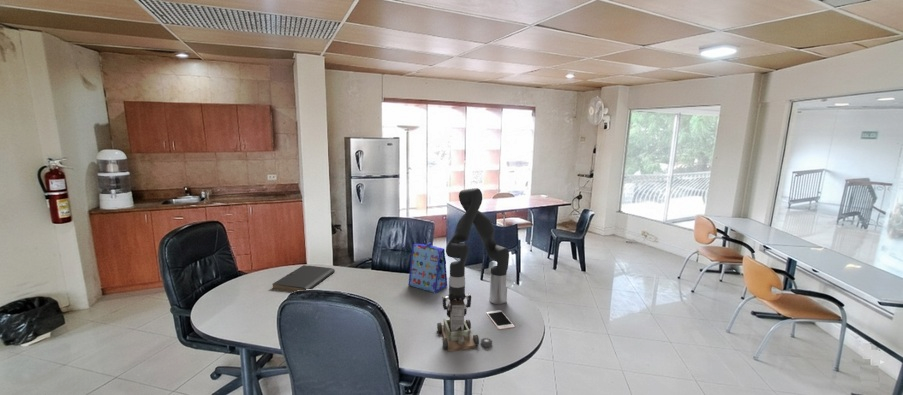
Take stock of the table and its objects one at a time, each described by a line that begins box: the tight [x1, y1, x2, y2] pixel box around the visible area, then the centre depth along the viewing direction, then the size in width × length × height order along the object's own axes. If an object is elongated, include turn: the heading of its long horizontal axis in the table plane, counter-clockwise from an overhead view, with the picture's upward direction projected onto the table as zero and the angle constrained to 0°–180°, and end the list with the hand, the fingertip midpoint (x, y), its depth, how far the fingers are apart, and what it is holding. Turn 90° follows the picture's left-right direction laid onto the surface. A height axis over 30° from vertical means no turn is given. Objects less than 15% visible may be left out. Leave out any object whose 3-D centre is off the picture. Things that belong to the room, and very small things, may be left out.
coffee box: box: [449, 299, 465, 332], centre depth 177 cm, size 9×6×16 cm
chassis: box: [436, 318, 480, 352], centre depth 176 cm, size 16×20×6 cm
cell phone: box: [485, 309, 516, 331], centre depth 194 cm, size 9×18×1 cm, turn 16°
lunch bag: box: [408, 242, 448, 294], centre depth 232 cm, size 22×14×29 cm, turn 58°
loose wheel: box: [480, 337, 493, 349], centre depth 171 cm, size 5×5×2 cm
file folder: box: [272, 264, 336, 292], centre depth 241 cm, size 33×4×24 cm
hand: (456, 315), depth 177 cm, fingers closed on coffee box, 7 cm apart
